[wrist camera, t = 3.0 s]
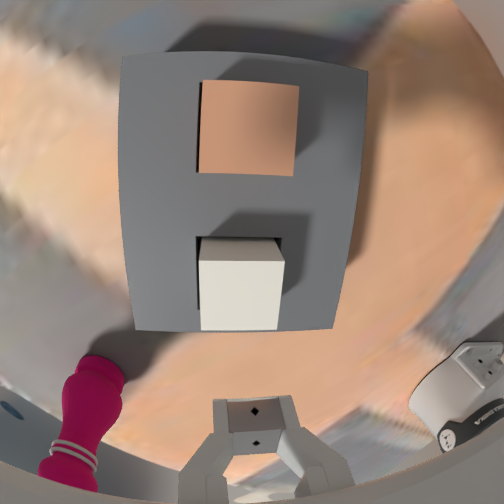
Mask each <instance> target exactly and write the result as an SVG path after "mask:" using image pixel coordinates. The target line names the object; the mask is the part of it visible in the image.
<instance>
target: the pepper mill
mask: <svg viewBox="0 0 504 504" xmlns="http://www.w3.org/2000/svg"><path fill="white" fill-rule="evenodd" d="M124 382H125V379H124V375H123V373H122V371H121V370H120V369H119V368H118V366H117V365H115V364H114V363H113V362H111V361H110V360H108V359H106V358H103V357H100V356H95V355H90V356H85V357H83V358H82V359H81V360H80V361H79V363H78V365H77V368H76V370H75V374H73V375H71V376H70V377H68V379H67V380H66V382H65V384H64V387H63V391H62V410H63V424H62V429H61V433H60V435H59V438H58V440H54V441H53V442H52V448H50V454H51V456H50V457H47V458H45V459H43V460H42V461H41V463H40V465H39V468H38V476H39V477H42V478H45V479H48V480H51V481H55V482H58V483H61V484H65V485H68V486H72V487H75V488H79V489H83V490H87V491H92V492H96V493H97V492H98V491H97V490H98V485H97V482H96V480H95V478H94V476H93V474H94V473H95V472H96V471H97V469H96V466H97V465H98V460H97V458H96V457H95V456H96V450H97V447H98V444H99V442H100V440H101V438H102V437H103V435H104V434H105V433H106V432H107V431H108V430H109V429H110V428H111V427H112V426H113V424H114V423H115V422H116V420H117V419H118V417H119V415H120V412H121V409H122V399H121V396H120V394H121V393H122V390H123V386H124Z"/></svg>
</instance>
